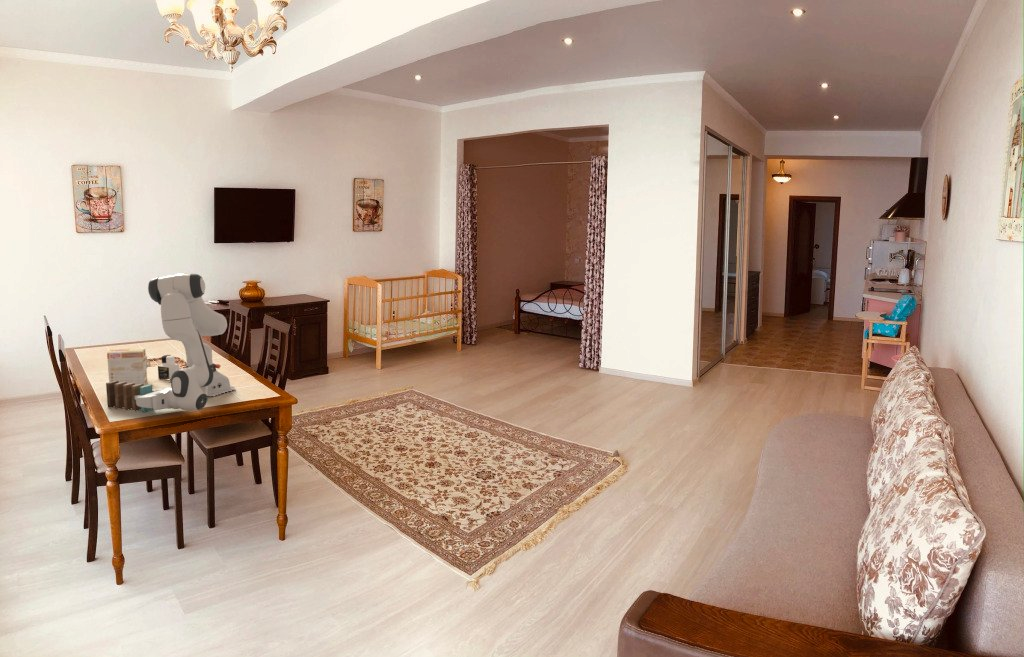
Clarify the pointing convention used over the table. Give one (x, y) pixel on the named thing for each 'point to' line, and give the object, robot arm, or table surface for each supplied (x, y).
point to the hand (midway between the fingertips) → (144, 394)
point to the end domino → (111, 393)
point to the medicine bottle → (167, 367)
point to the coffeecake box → (127, 366)
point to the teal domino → (144, 394)
